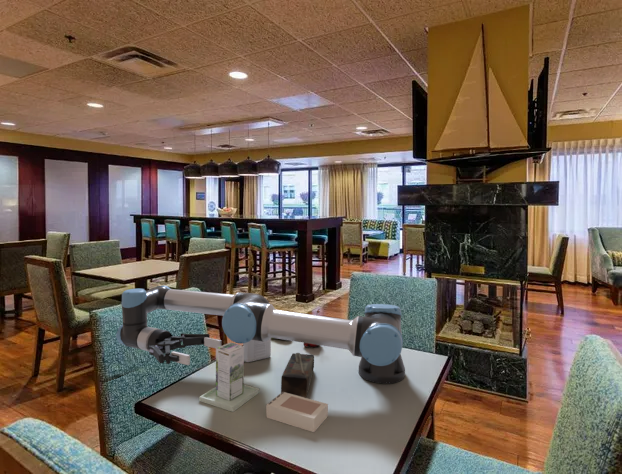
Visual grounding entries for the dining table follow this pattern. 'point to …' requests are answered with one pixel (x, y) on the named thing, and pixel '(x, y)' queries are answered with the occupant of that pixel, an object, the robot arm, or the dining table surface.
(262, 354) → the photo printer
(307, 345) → the red clay folk toy
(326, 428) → the dining table surface
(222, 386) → the syrup box
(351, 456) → the dining table surface
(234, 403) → the tray
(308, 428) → the pink-topped slotted block
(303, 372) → the beverage carton
